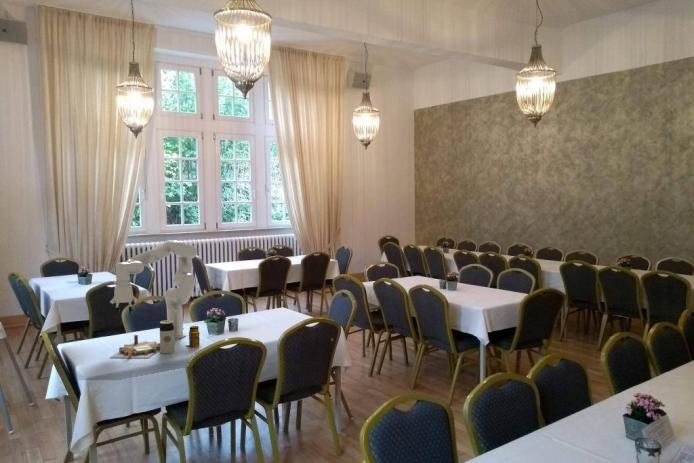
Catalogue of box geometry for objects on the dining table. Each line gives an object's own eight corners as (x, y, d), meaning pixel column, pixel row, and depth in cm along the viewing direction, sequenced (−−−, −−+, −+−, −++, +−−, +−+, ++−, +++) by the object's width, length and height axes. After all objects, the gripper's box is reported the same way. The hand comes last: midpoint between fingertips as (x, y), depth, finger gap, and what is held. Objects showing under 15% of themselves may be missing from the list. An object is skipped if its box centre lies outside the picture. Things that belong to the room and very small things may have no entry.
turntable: (114, 348, 323) (113, 337, 322) (154, 341, 337) (153, 331, 336) (125, 357, 304) (124, 345, 303) (167, 350, 318) (166, 339, 318)
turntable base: (131, 345, 332) (130, 336, 332) (166, 345, 331) (166, 336, 331) (109, 358, 306) (109, 348, 306) (148, 358, 305) (147, 348, 304)
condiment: (201, 346, 328) (201, 327, 327) (187, 349, 323) (187, 329, 323) (197, 344, 334) (197, 324, 333) (184, 346, 330) (183, 326, 329)
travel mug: (162, 350, 321) (161, 320, 320) (176, 349, 322) (175, 319, 320) (158, 354, 313) (157, 323, 312) (172, 353, 314) (171, 322, 313)
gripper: (106, 285, 317) (107, 315, 318) (138, 283, 322) (139, 313, 323) (108, 283, 324) (109, 313, 325) (139, 281, 329) (140, 311, 330)
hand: (124, 313), depth 324 cm, fingers open, 5 cm apart
